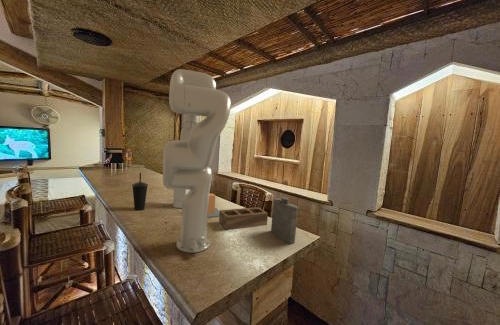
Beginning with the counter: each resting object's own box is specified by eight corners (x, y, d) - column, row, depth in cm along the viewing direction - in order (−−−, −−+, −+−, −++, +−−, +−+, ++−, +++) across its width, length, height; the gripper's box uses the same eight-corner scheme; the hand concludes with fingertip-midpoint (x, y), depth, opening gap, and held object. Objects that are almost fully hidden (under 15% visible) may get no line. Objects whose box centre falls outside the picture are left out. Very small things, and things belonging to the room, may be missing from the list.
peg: (214, 213, 120) (215, 195, 119) (206, 214, 118) (207, 195, 117) (211, 210, 124) (212, 193, 123) (204, 211, 122) (205, 193, 121)
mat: (223, 216, 118) (223, 215, 118) (201, 218, 113) (201, 217, 113) (216, 209, 129) (216, 208, 129) (195, 210, 123) (195, 209, 123)
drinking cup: (129, 211, 115) (130, 173, 112) (133, 207, 122) (134, 171, 120) (145, 211, 117) (146, 174, 114) (148, 206, 124) (149, 171, 122)
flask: (289, 244, 92) (293, 202, 90) (268, 231, 103) (271, 193, 101) (296, 243, 94) (300, 201, 92) (274, 230, 105) (277, 193, 103)
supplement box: (189, 205, 133) (190, 184, 131) (185, 208, 125) (186, 187, 124) (178, 203, 133) (178, 183, 132) (172, 207, 126) (173, 185, 125)
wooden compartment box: (266, 224, 111) (267, 213, 111) (226, 230, 101) (227, 217, 100) (257, 217, 120) (258, 207, 119) (218, 222, 110) (219, 210, 109)
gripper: (207, 128, 114) (205, 161, 115) (172, 125, 107) (170, 160, 108) (211, 127, 107) (209, 162, 108) (173, 124, 100) (172, 161, 101)
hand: (190, 161), depth 108 cm, fingers open, 9 cm apart
